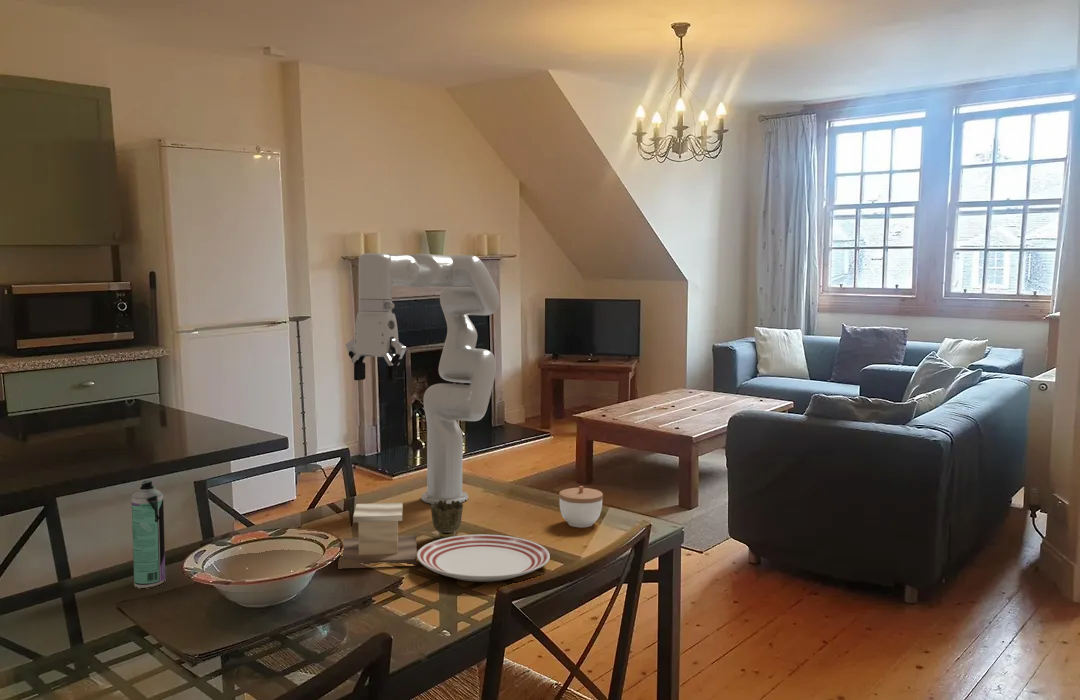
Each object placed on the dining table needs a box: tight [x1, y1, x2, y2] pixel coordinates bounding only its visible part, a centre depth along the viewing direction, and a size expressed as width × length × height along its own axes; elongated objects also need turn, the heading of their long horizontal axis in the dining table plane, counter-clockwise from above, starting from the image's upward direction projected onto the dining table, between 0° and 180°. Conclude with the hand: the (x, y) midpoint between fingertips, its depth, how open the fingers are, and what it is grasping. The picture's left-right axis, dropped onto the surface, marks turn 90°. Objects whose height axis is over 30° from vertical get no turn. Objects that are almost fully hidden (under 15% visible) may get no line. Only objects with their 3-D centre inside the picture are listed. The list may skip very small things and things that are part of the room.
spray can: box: [131, 480, 166, 589], centre depth 154 cm, size 6×6×20 cm
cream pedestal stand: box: [342, 502, 418, 566], centre depth 172 cm, size 16×16×10 cm
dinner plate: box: [417, 533, 551, 583], centre depth 166 cm, size 27×27×3 cm
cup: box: [430, 500, 464, 539], centre depth 184 cm, size 8×7×8 cm
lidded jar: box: [558, 485, 604, 529], centre depth 196 cm, size 11×11×9 cm
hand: (375, 381), depth 185 cm, fingers open, 9 cm apart
